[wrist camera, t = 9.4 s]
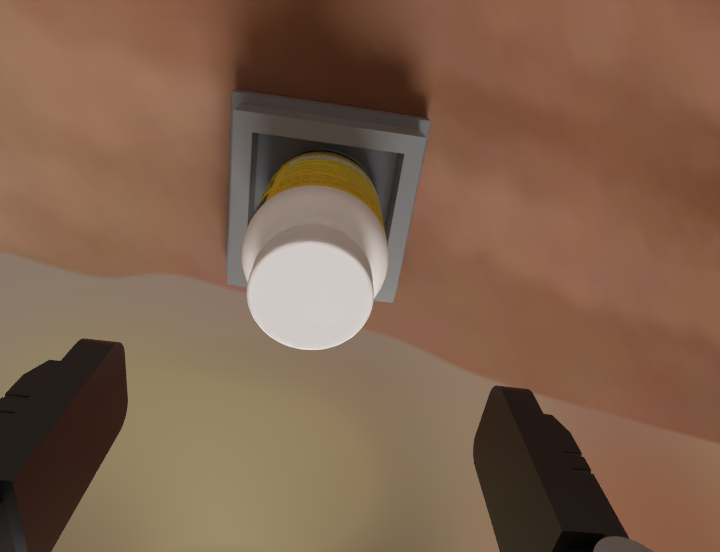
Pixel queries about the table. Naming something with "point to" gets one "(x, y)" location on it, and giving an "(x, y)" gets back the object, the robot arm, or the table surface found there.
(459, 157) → the table surface
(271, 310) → the supplement bottle
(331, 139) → the square open box
